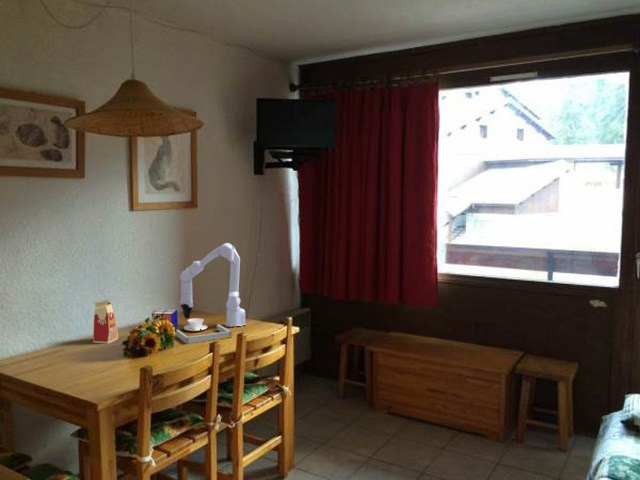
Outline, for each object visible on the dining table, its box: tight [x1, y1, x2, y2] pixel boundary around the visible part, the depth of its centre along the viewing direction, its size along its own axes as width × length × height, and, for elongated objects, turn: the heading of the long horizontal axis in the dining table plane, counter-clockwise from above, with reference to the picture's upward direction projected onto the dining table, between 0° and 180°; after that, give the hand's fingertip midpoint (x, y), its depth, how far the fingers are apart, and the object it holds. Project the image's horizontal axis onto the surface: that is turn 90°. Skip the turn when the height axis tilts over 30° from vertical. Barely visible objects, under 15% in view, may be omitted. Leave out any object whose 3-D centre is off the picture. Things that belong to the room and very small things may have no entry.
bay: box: [175, 324, 232, 345], centre depth 265 cm, size 22×16×3 cm
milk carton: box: [92, 299, 119, 345], centre depth 255 cm, size 9×9×20 cm
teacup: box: [183, 317, 208, 332], centre depth 277 cm, size 12×12×5 cm
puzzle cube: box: [151, 308, 179, 330], centre depth 275 cm, size 10×10×10 cm
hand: (187, 318), depth 286 cm, fingers closed
